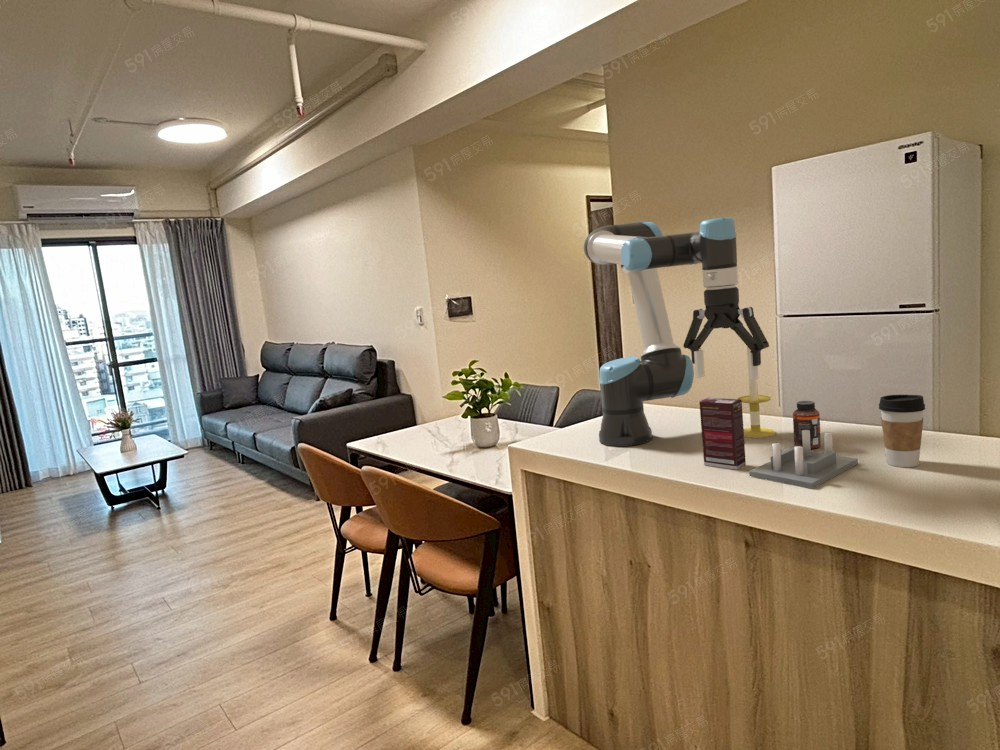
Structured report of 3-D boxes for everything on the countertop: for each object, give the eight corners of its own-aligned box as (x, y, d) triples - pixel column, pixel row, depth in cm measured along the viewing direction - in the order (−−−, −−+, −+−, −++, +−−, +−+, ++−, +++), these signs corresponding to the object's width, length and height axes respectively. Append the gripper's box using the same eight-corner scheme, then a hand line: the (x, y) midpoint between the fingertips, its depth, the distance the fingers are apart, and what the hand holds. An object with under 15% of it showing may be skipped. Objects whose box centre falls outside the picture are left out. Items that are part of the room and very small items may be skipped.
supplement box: (746, 464, 144) (743, 398, 142) (737, 470, 141) (733, 403, 139) (712, 459, 151) (708, 396, 148) (702, 465, 147) (698, 401, 145)
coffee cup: (911, 471, 128) (910, 401, 126) (871, 463, 135) (869, 397, 133) (934, 462, 132) (933, 394, 129) (894, 455, 139) (892, 390, 137)
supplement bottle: (824, 449, 149) (822, 403, 147) (797, 450, 150) (795, 405, 149) (816, 442, 155) (815, 398, 153) (791, 443, 156) (789, 400, 154)
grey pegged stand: (749, 476, 136) (747, 445, 135) (796, 454, 148) (795, 425, 147) (812, 488, 125) (810, 455, 124) (857, 463, 136) (857, 432, 135)
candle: (739, 438, 165) (733, 340, 161) (734, 429, 175) (728, 336, 171) (779, 436, 163) (774, 336, 159) (771, 427, 173) (766, 333, 169)
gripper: (665, 292, 147) (671, 378, 150) (765, 285, 128) (770, 384, 131) (683, 289, 152) (688, 373, 155) (782, 282, 133) (786, 378, 136)
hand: (725, 378), depth 143 cm, fingers open, 13 cm apart
